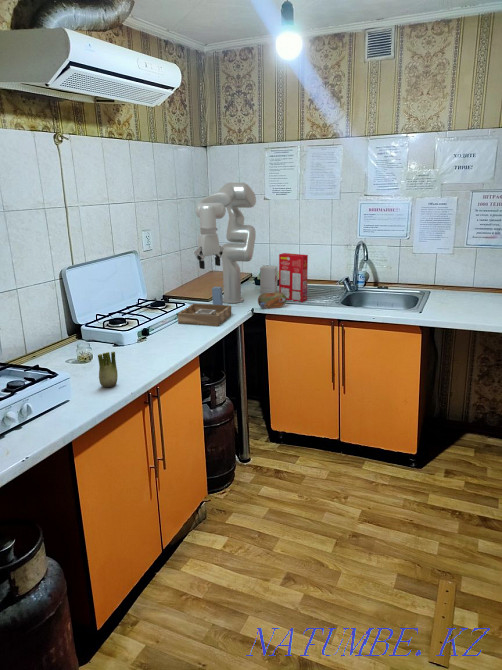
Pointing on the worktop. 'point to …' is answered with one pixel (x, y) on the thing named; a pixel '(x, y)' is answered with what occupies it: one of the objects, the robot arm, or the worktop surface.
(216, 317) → the walled box
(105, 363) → the fennel bulb
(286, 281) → the food packaging
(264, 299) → the brown snack packet
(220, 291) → the connector
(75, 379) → the worktop surface
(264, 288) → the supplement box
